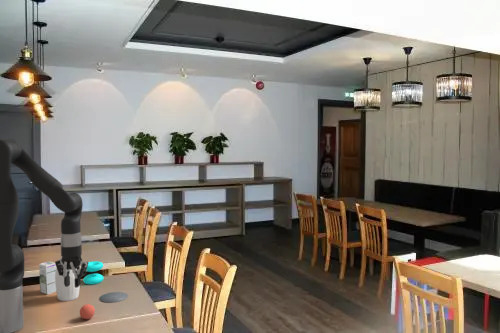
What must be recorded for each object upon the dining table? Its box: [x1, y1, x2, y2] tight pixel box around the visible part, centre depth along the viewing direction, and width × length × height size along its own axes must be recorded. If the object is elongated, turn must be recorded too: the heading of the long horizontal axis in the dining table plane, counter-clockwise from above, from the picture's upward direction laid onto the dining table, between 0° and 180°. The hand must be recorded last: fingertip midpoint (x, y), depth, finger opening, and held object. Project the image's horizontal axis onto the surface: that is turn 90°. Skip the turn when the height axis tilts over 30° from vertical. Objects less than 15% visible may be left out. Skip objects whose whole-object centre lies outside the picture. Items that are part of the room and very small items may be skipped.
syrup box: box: [38, 260, 57, 295], centre depth 209 cm, size 6×6×14 cm
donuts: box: [83, 260, 104, 285], centre depth 224 cm, size 10×10×10 cm
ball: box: [79, 303, 96, 320], centre depth 179 cm, size 6×6×6 cm
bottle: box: [55, 256, 81, 302], centre depth 201 cm, size 11×11×25 cm
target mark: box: [98, 291, 129, 304], centre depth 203 cm, size 13×13×1 cm
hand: (72, 286), depth 169 cm, fingers open, 3 cm apart
